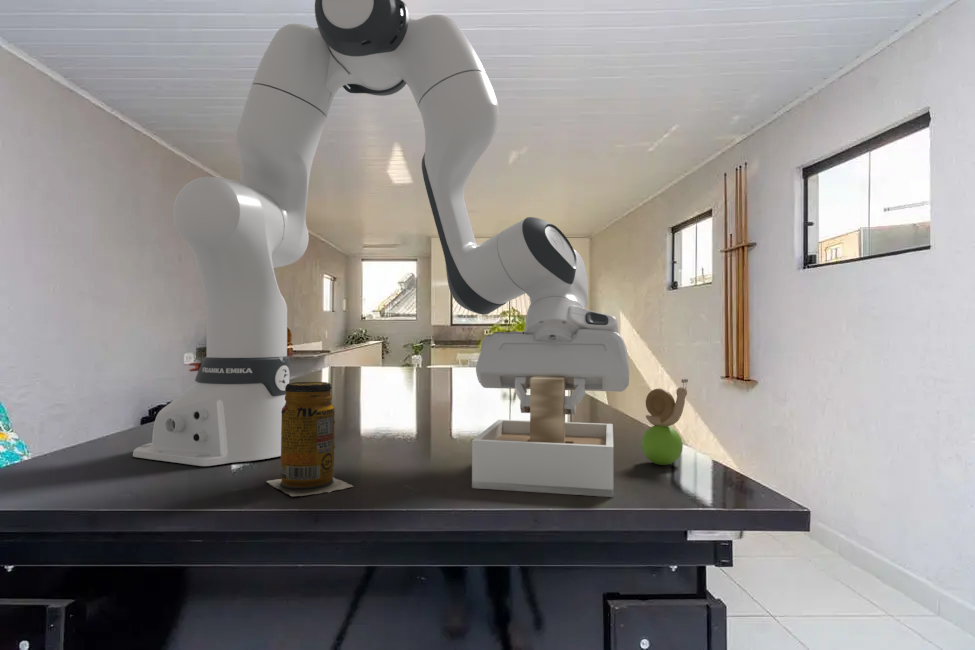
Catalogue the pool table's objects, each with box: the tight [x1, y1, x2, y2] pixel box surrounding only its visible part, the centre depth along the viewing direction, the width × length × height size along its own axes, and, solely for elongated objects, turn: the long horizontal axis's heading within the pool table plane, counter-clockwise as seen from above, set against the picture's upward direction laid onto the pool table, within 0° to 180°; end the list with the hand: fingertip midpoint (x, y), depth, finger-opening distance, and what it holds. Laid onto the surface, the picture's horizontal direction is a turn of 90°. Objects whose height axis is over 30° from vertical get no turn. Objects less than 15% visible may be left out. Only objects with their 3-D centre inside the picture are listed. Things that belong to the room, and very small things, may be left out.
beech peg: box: [529, 376, 566, 443], centre depth 72 cm, size 4×4×10 cm
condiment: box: [265, 381, 355, 497], centre depth 67 cm, size 7×8×12 cm
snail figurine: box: [640, 378, 689, 466], centre depth 78 cm, size 5×6×12 cm
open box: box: [471, 419, 614, 498], centre depth 72 cm, size 16×16×6 cm
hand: (547, 411), depth 72 cm, fingers closed on beech peg, 4 cm apart
